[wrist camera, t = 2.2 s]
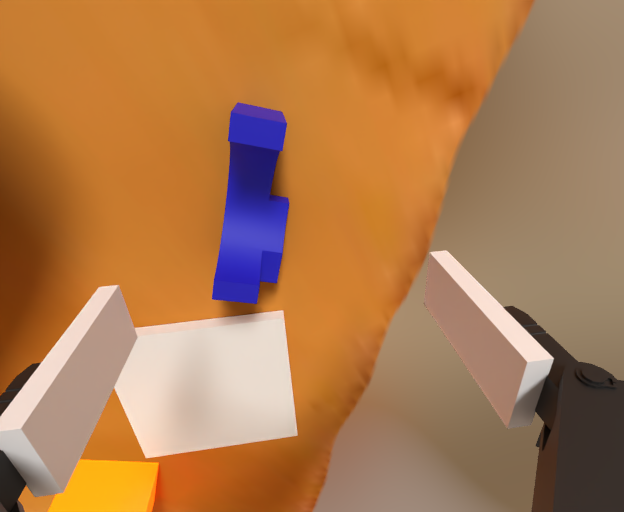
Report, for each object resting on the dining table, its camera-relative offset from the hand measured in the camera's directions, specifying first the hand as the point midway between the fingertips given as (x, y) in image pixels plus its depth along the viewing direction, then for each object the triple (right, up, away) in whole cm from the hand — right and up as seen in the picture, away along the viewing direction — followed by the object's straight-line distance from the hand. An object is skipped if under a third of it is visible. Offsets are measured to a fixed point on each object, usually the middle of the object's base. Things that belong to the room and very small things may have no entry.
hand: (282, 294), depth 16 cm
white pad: (-9, -11, +20) cm, 25 cm away
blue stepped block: (-3, +7, +12) cm, 14 cm away
